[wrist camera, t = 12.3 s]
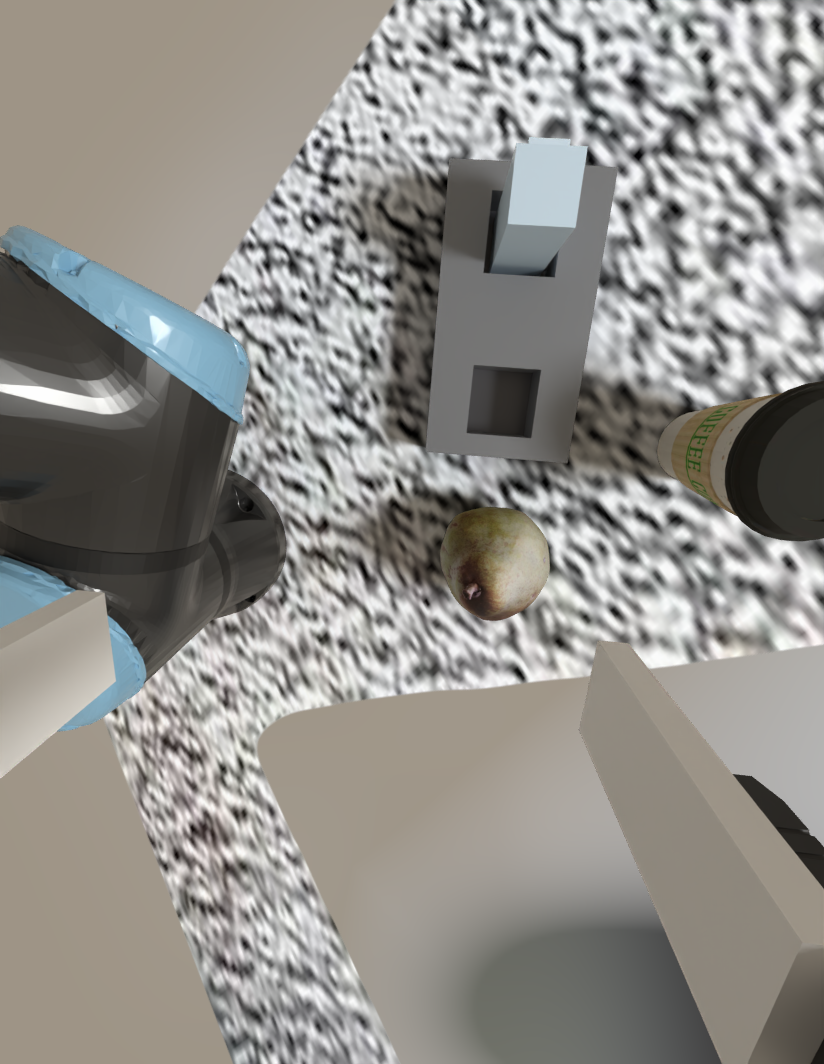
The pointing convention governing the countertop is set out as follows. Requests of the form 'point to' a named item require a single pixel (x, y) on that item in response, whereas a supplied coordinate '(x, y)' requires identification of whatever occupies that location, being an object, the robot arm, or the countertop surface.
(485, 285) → the socket panel
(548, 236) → the plug
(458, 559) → the fruit
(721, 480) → the coffee cup
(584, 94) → the countertop surface
